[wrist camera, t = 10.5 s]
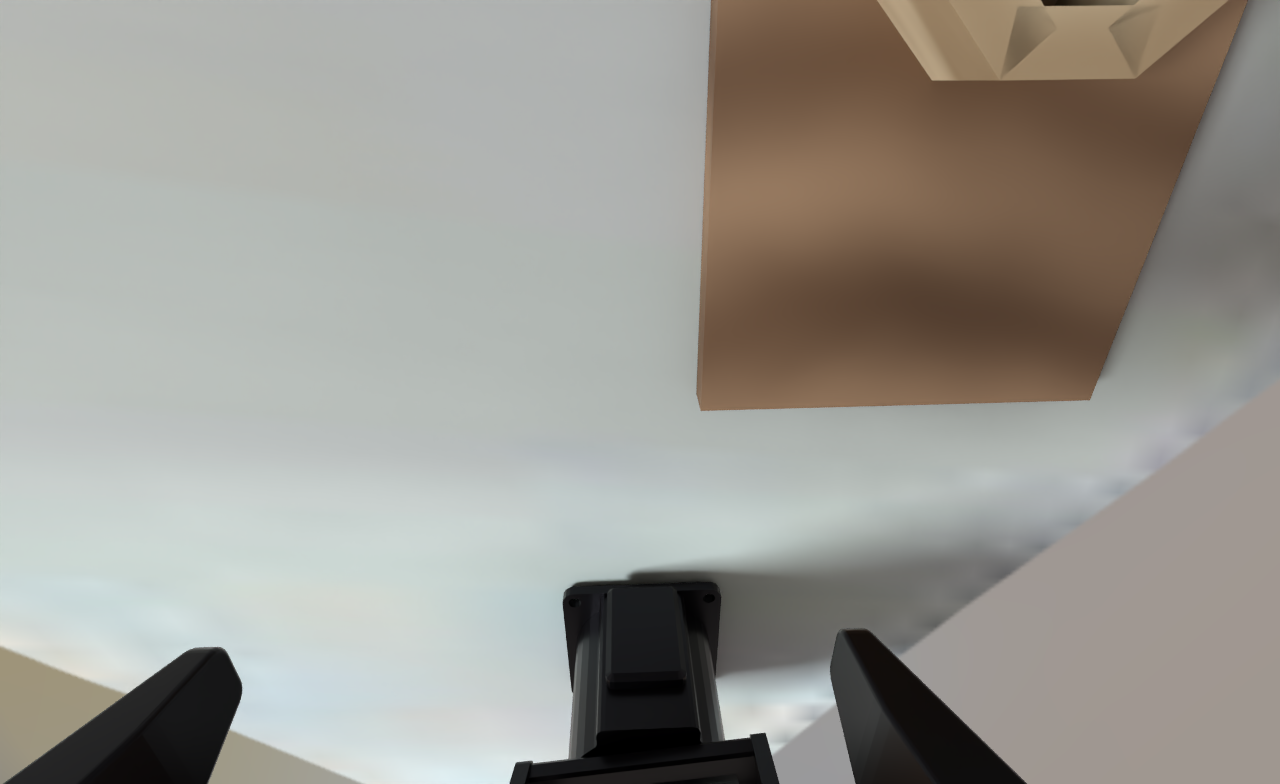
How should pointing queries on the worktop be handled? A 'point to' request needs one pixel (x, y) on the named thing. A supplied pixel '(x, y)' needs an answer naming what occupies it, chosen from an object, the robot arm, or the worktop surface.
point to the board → (923, 212)
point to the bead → (1043, 36)
